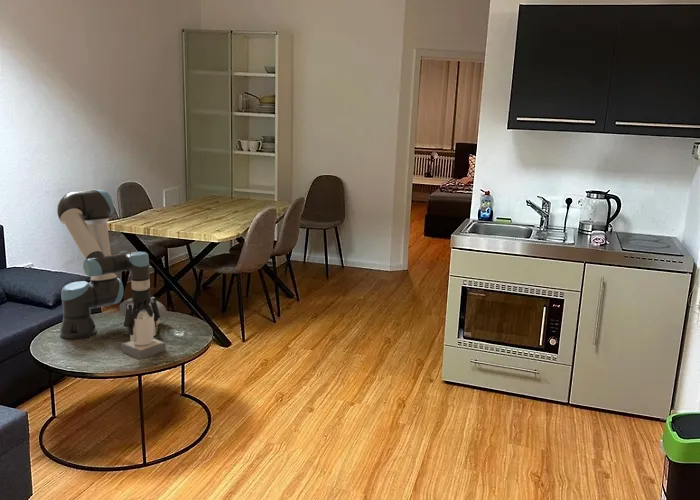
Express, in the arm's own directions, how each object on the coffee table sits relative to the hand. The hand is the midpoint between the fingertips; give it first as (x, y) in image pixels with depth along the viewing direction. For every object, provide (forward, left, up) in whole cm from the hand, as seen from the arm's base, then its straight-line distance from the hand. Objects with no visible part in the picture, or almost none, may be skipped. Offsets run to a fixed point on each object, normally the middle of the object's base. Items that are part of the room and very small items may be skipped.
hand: (143, 337), depth 268 cm
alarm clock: (-29, +21, -6) cm, 36 cm away
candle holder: (0, 0, -2) cm, 2 cm away
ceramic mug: (-14, +12, -6) cm, 20 cm away
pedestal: (0, 0, -6) cm, 6 cm away
